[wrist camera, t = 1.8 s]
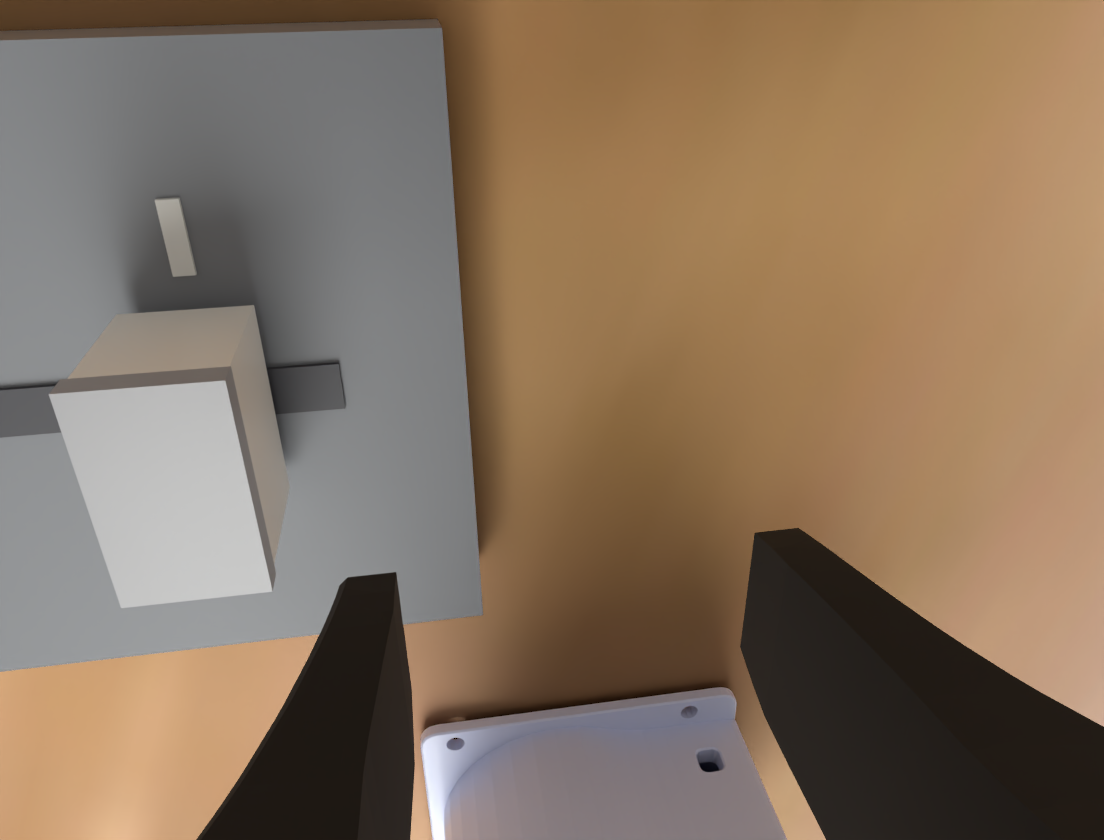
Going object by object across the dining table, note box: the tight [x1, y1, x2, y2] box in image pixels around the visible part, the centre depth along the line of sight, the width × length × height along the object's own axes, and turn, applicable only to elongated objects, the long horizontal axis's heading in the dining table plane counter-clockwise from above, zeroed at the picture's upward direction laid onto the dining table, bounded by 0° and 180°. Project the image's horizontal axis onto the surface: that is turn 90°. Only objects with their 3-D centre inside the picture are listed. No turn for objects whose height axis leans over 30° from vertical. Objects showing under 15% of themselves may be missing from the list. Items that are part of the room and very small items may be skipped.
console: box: [0, 19, 483, 672], centre depth 17 cm, size 18×13×2 cm
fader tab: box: [49, 305, 290, 608], centre depth 15 cm, size 2×4×3 cm, turn 1°
